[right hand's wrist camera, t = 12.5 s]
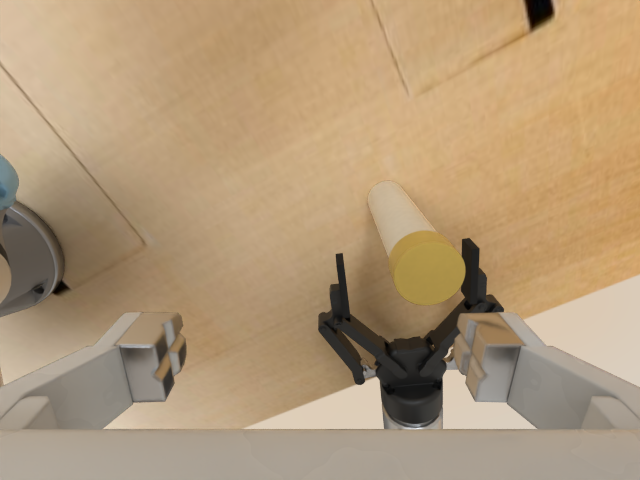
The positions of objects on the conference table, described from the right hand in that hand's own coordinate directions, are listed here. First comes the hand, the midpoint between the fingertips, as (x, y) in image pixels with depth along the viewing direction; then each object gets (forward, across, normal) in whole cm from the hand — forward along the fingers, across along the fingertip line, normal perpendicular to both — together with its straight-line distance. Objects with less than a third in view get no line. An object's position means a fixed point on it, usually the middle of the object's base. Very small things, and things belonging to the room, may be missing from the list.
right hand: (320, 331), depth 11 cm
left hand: (+26, -9, +8) cm, 28 cm away
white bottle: (+32, -8, +4) cm, 33 cm away
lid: (+14, -8, +5) cm, 17 cm away
